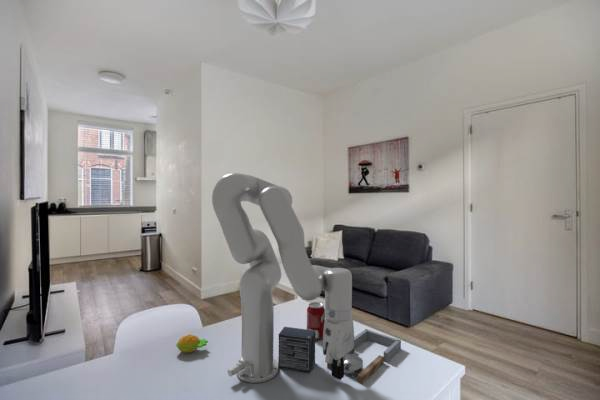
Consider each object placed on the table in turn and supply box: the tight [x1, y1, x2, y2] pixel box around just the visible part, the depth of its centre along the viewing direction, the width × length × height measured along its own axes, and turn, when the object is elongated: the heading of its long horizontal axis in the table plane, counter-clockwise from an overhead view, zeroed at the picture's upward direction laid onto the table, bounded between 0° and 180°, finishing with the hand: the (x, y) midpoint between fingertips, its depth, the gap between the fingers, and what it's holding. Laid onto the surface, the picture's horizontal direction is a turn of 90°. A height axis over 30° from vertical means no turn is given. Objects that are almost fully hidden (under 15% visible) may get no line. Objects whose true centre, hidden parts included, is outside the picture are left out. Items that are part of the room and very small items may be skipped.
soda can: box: [306, 301, 325, 341], centre depth 112 cm, size 7×7×12 cm
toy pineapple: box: [175, 334, 209, 354], centre depth 101 cm, size 7×10×5 cm
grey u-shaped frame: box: [354, 328, 402, 363], centre depth 104 cm, size 11×13×3 cm
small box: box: [278, 326, 316, 374], centre depth 93 cm, size 11×6×10 cm, turn 74°
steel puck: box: [343, 353, 364, 378], centre depth 91 cm, size 7×7×3 cm
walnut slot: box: [326, 346, 385, 385], centre depth 93 cm, size 14×12×2 cm
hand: (337, 376), depth 85 cm, fingers closed
